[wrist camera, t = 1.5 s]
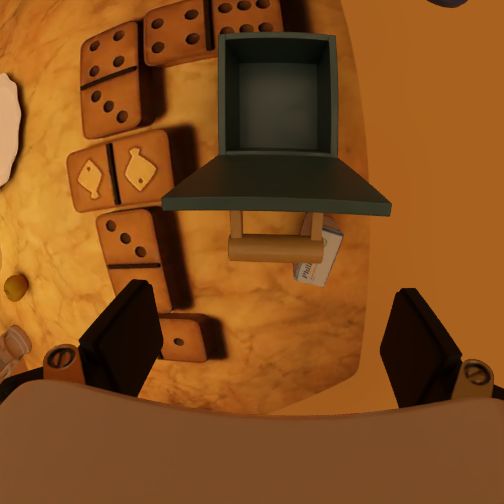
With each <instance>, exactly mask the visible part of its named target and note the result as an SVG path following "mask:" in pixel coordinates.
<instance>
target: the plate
mask: <svg viewBox="0 0 504 504" xmlns="http://www.w3.org/2000/svg"><path fill="white" fill-rule="evenodd" d="M20 121H21V108H20V105H19V101H18V89H17V84H16V83H15V82H13V81H11V80H10V79H9V77H8V75H7V74H6V73H3V74H1V75H0V187H1V186H2V185H3V184H5V183H6V182H7V181H8V180H9V178H10V173H11V169H12V164H13V162H14V160H15V157H16V155H17V153H18V148H19V128H20Z"/></svg>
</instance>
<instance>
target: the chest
mask: <svg viewBox="0 0 504 504" xmlns="http://www.w3.org/2000/svg"><path fill="white" fill-rule="evenodd" d="M218 140H219V155H294V156H316V157H332V158H337V157H338V70H337V49H336V36H334V35H325V34H314V33H298V32H245V33H229V34H219V35H218Z"/></svg>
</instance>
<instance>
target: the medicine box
mask: <svg viewBox="0 0 504 504" xmlns="http://www.w3.org/2000/svg"><path fill="white" fill-rule="evenodd" d="M310 224H311V212H306V215H305V219H304V222H303V225H302V228H301V231H300V235H307V236H310ZM343 236H344V235H343V234H342V232H341V230H340V229H339V227H338V225H337V224H336V222H335V220H334V219H333V218H331V217H328V216H325V215H324V217H323V228H322V237H323V241H324V255H323V261H322V263H321V264H313V263H293V274H294V280H297V281H301V282H305V283H309V284H313V285H317V286H321V287H324V285H325V283H326V280H327V278H328V275H329V273H330V270H331V268H332V265H333V263H334V260H335V257H336V255H337V252H338V250H339V247H340V244H341V242H342V239H343Z"/></svg>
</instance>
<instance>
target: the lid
mask: <svg viewBox="0 0 504 504" xmlns="http://www.w3.org/2000/svg"><path fill="white" fill-rule="evenodd" d="M161 201H162V209H163V211H178V210H230V224H231V234H230V236H229V241H228V256H229V260H230V261H247V262H279V263H313V264H321V263H322V261H323V255H324V241H323V237H322V228H323V217H324V213H337V214H355V215H372V216H387V217H389V216H390V213H391V207H392V204H391V202H389V201H388V200H387V199H386V198H385V197H384V196H383V195H382V194H381V193H379V192H378V191H377V190H376V189H375V188H374V187H373V186H372V185H370V184H369V183H368V182H367V181H366V180H365V179H363V178H362V177H361V176H360V175H359V174H357V173H356V172H355V171H354V170H353V169H351V168H350V167H349V166H348V165H346V164H345V163H344V162H343V161H341V160H340V159H339V158H332V157H316V156H294V155H218V156H216V157H215V158H214V159H212V160H211V161H209V162H208V163H207V164H205V165H204V166H202V167H201V168H200V169H198V170H197V171H196V172H194V173H193V174H192V175H190V176H189V177H188V178H186V179H185V180H184V181H182V182H181V183H180V184H178V185H177V186H176V187H174V188H173V189H172V190H171V191H169V192H168V193H167V194H166V195H164V196H163V197H162V198H161ZM242 211H286V212H311V224H310V236H307V235H274V234H243V213H242Z"/></svg>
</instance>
